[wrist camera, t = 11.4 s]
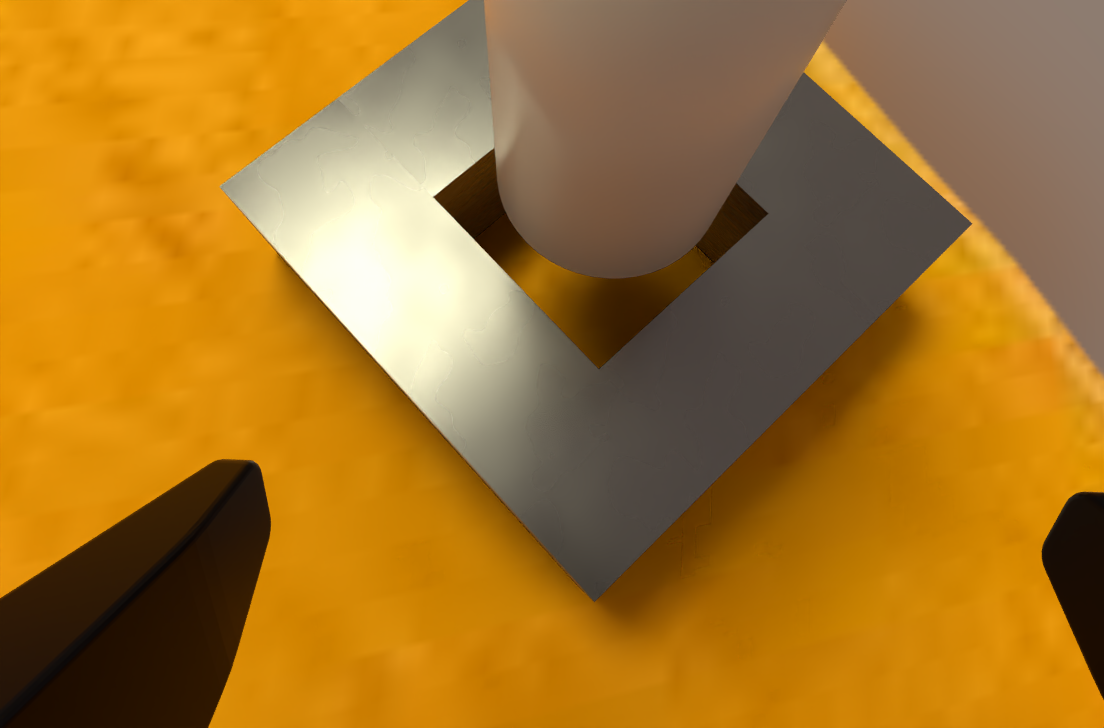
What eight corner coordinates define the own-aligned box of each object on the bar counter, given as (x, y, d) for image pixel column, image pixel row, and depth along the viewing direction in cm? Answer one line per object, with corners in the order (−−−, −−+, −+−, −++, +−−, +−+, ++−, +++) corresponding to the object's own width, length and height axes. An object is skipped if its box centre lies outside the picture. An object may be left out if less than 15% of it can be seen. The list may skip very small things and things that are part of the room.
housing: (891, 279, 22) (972, 223, 18) (579, 588, 19) (594, 601, 15) (593, 2, 23) (607, -104, 20) (275, 251, 21) (219, 186, 17)
